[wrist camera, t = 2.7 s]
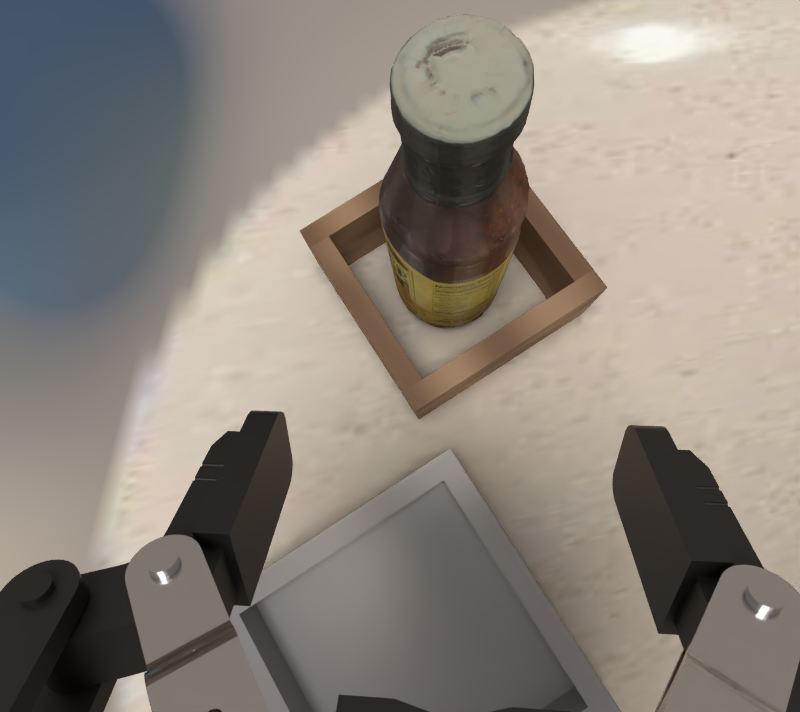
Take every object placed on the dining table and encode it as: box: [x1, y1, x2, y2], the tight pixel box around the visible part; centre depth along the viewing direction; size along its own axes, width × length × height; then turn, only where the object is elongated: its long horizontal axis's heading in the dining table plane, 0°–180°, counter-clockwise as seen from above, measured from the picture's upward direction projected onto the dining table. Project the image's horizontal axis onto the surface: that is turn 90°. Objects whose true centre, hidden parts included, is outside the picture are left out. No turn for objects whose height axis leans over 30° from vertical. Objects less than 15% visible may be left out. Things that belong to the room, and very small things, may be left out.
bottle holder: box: [300, 180, 607, 419], centre depth 32 cm, size 12×12×5 cm
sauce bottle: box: [379, 14, 534, 328], centre depth 25 cm, size 6×6×20 cm
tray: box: [229, 449, 621, 712], centre depth 29 cm, size 15×15×4 cm
